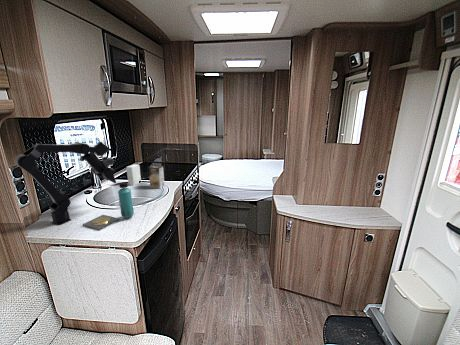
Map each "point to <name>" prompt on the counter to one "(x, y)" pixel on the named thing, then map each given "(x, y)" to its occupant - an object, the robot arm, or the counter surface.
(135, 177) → the skincare box
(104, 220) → the coupling plate
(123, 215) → the beverage bottle
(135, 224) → the counter surface
